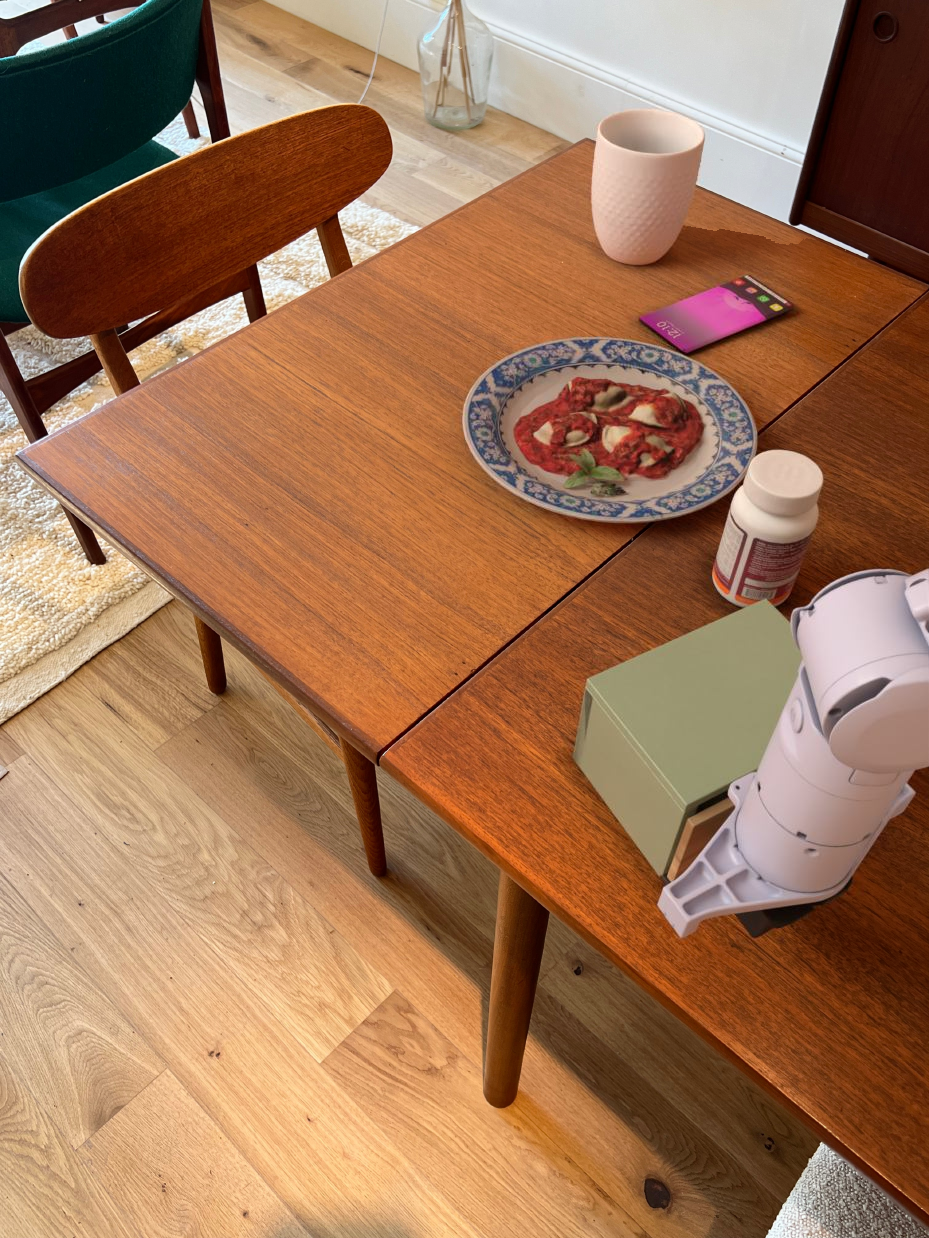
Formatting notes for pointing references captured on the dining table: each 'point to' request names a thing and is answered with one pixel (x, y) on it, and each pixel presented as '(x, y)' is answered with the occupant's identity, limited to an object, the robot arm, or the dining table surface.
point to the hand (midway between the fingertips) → (751, 918)
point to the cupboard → (685, 723)
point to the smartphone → (716, 314)
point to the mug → (643, 182)
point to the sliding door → (698, 835)
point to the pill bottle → (768, 529)
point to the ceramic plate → (609, 429)
